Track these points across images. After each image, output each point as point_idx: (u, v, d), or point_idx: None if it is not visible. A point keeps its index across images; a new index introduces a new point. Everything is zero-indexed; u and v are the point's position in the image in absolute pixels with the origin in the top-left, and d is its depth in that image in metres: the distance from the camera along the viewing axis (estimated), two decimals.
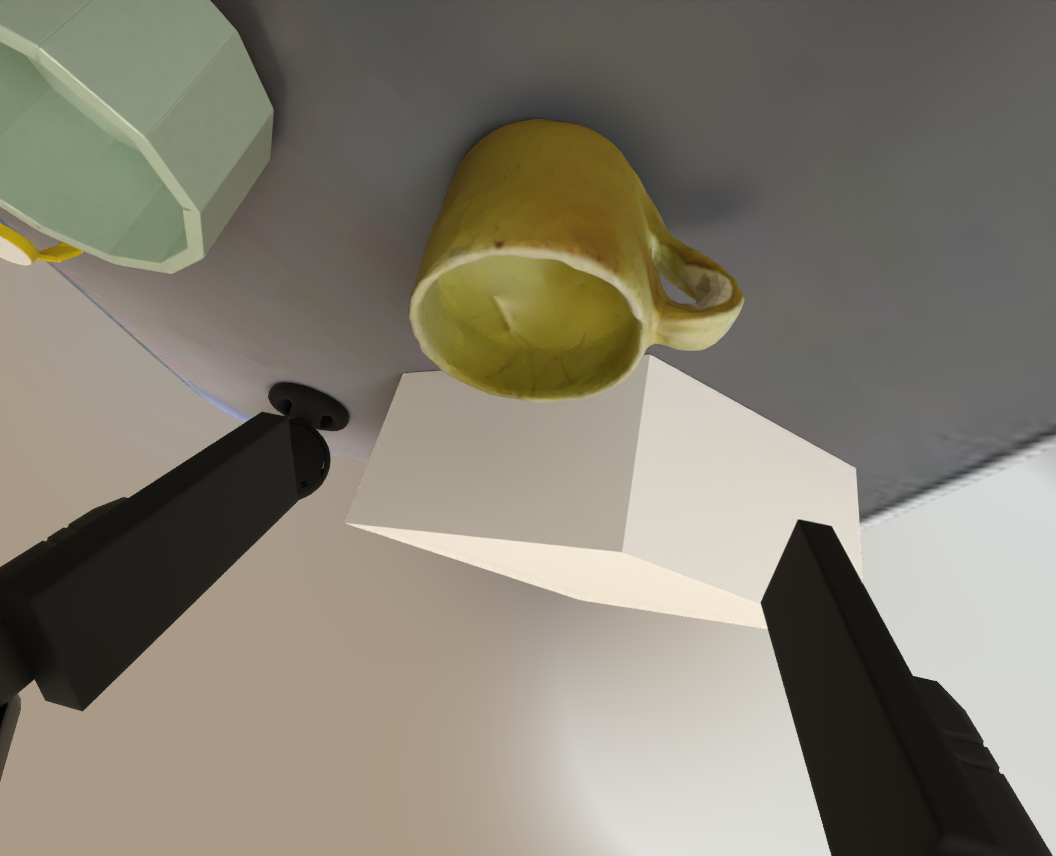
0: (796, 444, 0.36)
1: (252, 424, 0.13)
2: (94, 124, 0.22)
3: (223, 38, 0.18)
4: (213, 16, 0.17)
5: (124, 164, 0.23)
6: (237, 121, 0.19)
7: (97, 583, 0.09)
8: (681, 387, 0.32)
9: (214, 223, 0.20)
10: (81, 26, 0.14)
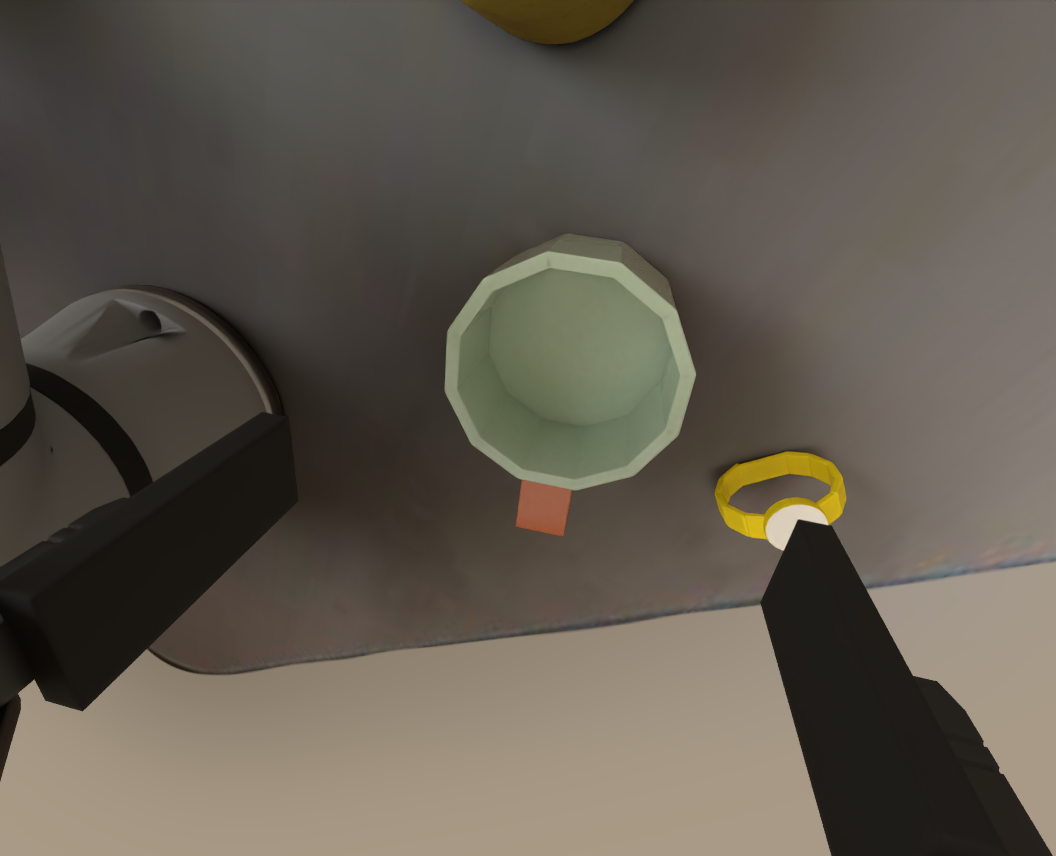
0: None
1: (252, 424, 0.13)
2: (649, 393, 0.26)
3: None
4: None
5: (665, 373, 0.25)
6: (542, 246, 0.23)
7: (97, 583, 0.09)
8: None
9: (591, 253, 0.20)
10: None
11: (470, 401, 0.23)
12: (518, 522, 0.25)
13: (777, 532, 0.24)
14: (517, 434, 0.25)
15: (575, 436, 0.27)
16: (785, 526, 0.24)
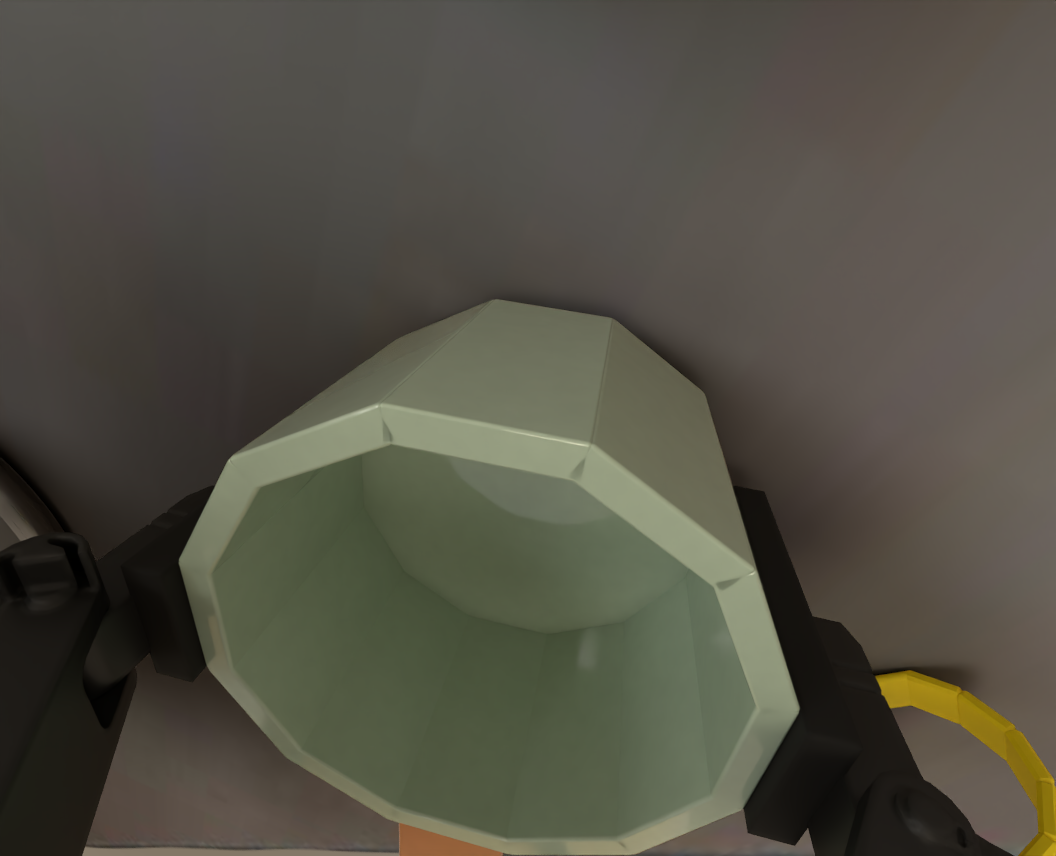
0: None
1: None
2: (664, 595, 0.14)
3: None
4: None
5: (698, 580, 0.12)
6: (429, 338, 0.10)
7: None
8: None
9: (515, 396, 0.07)
10: None
11: (280, 669, 0.11)
12: None
13: None
14: (405, 690, 0.13)
15: (525, 668, 0.14)
16: None
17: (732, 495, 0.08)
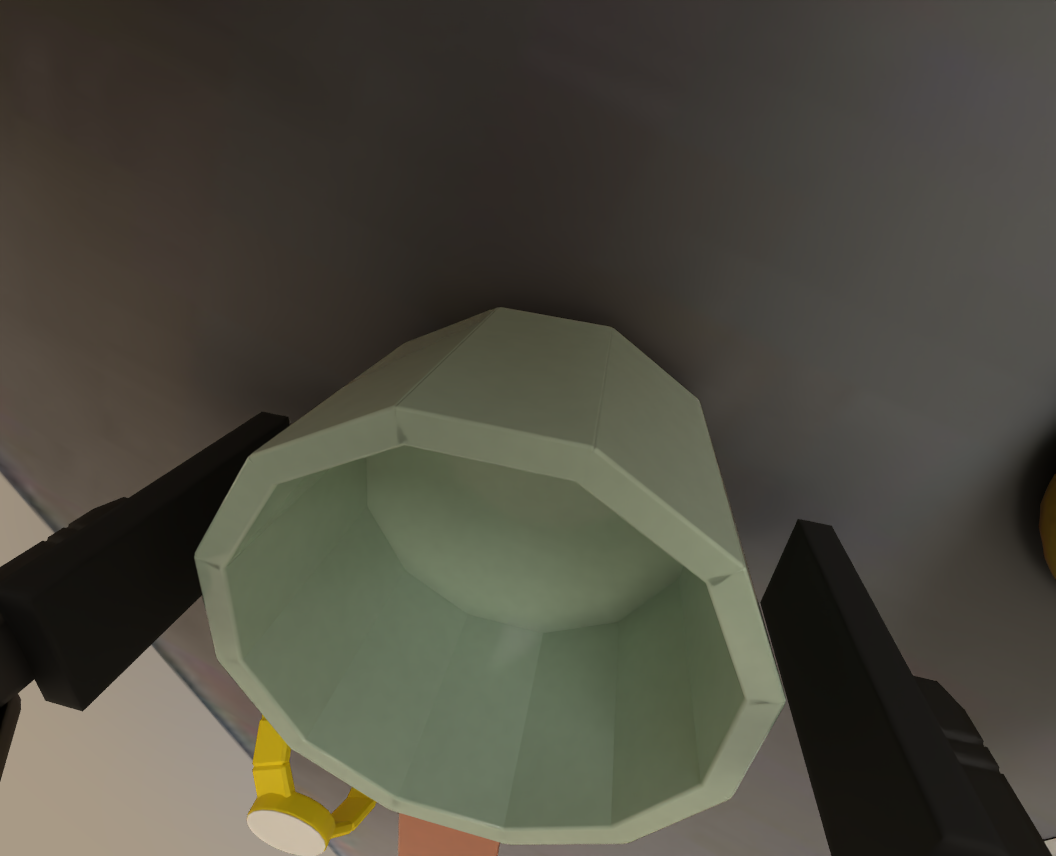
0: None
1: (252, 424, 0.13)
2: (658, 595, 0.14)
3: None
4: None
5: (691, 580, 0.13)
6: (436, 344, 0.11)
7: (97, 583, 0.09)
8: None
9: (521, 401, 0.08)
10: None
11: (286, 662, 0.11)
12: None
13: (271, 819, 0.16)
14: (406, 685, 0.13)
15: (522, 665, 0.15)
16: (284, 822, 0.16)
17: (724, 497, 0.08)
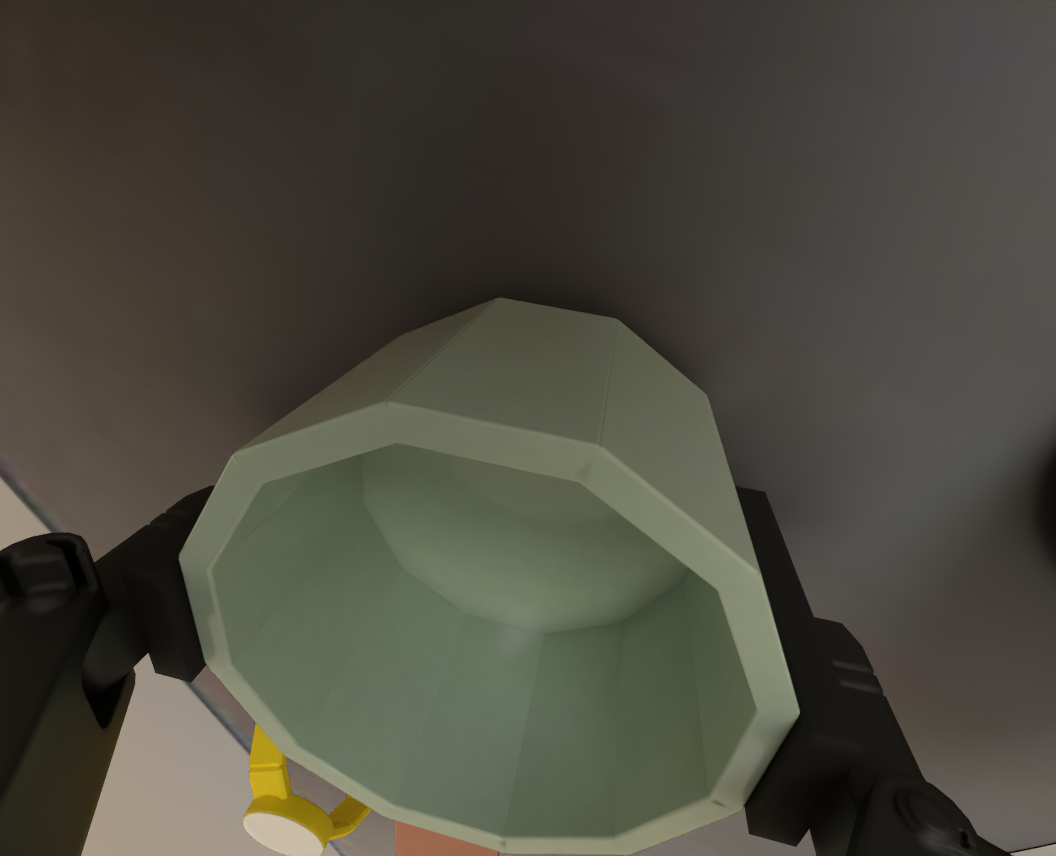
0: None
1: None
2: (662, 596, 0.14)
3: None
4: None
5: (697, 581, 0.12)
6: (433, 336, 0.10)
7: None
8: None
9: (522, 396, 0.07)
10: None
11: (278, 665, 0.11)
12: None
13: (268, 821, 0.16)
14: (403, 688, 0.13)
15: (523, 666, 0.14)
16: (281, 824, 0.16)
17: (736, 498, 0.08)
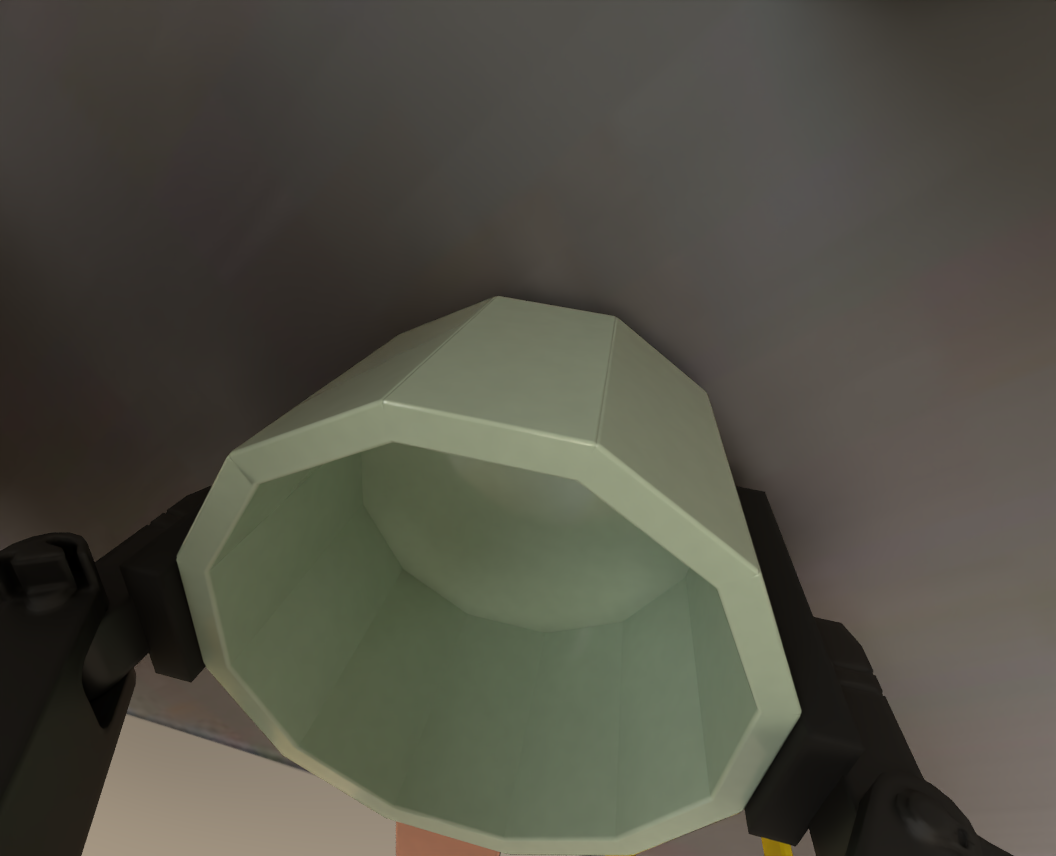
0: None
1: None
2: (663, 594, 0.14)
3: None
4: None
5: (698, 580, 0.12)
6: (430, 335, 0.10)
7: None
8: None
9: (519, 394, 0.07)
10: None
11: (278, 666, 0.11)
12: None
13: None
14: (403, 688, 0.13)
15: (524, 666, 0.14)
16: None
17: (736, 496, 0.08)
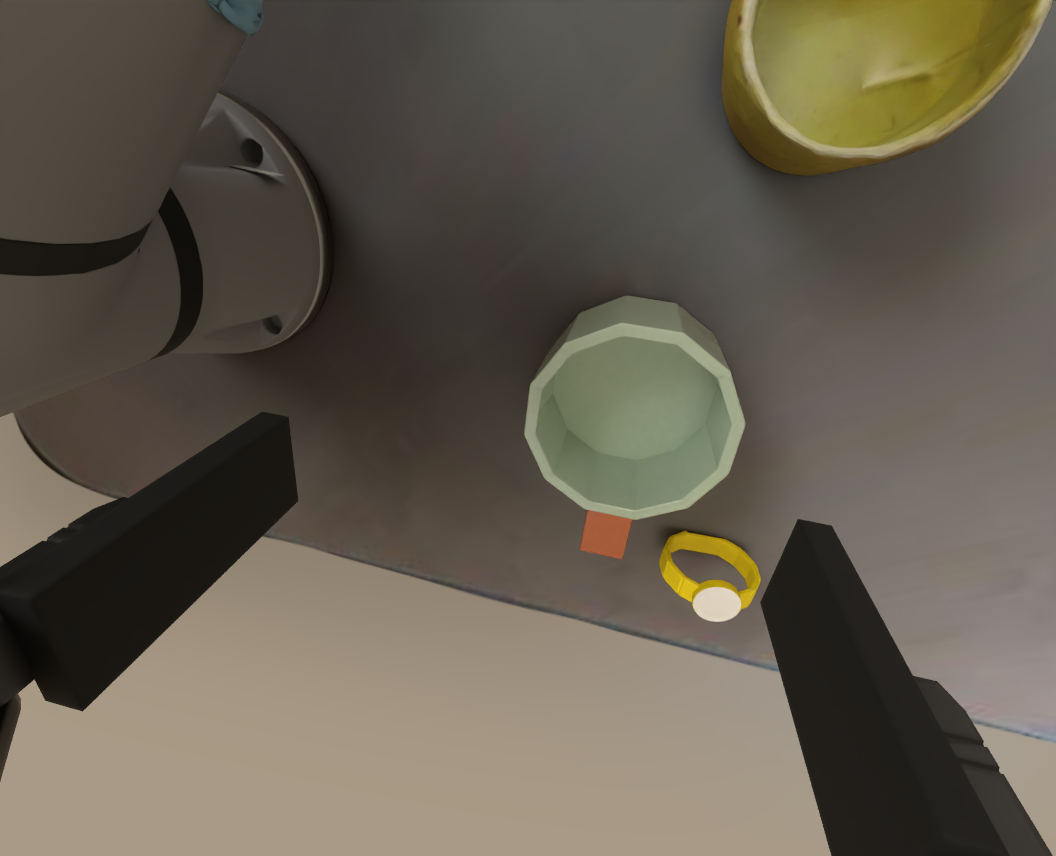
0: None
1: (252, 424, 0.13)
2: (695, 432, 0.30)
3: (575, 318, 0.28)
4: (570, 324, 0.29)
5: (711, 416, 0.28)
6: (608, 310, 0.26)
7: (97, 583, 0.09)
8: None
9: (656, 323, 0.23)
10: (538, 371, 0.26)
11: (544, 442, 0.27)
12: (582, 546, 0.29)
13: (702, 601, 0.30)
14: (581, 469, 0.29)
15: (629, 469, 0.30)
16: (710, 599, 0.30)
17: (724, 358, 0.24)
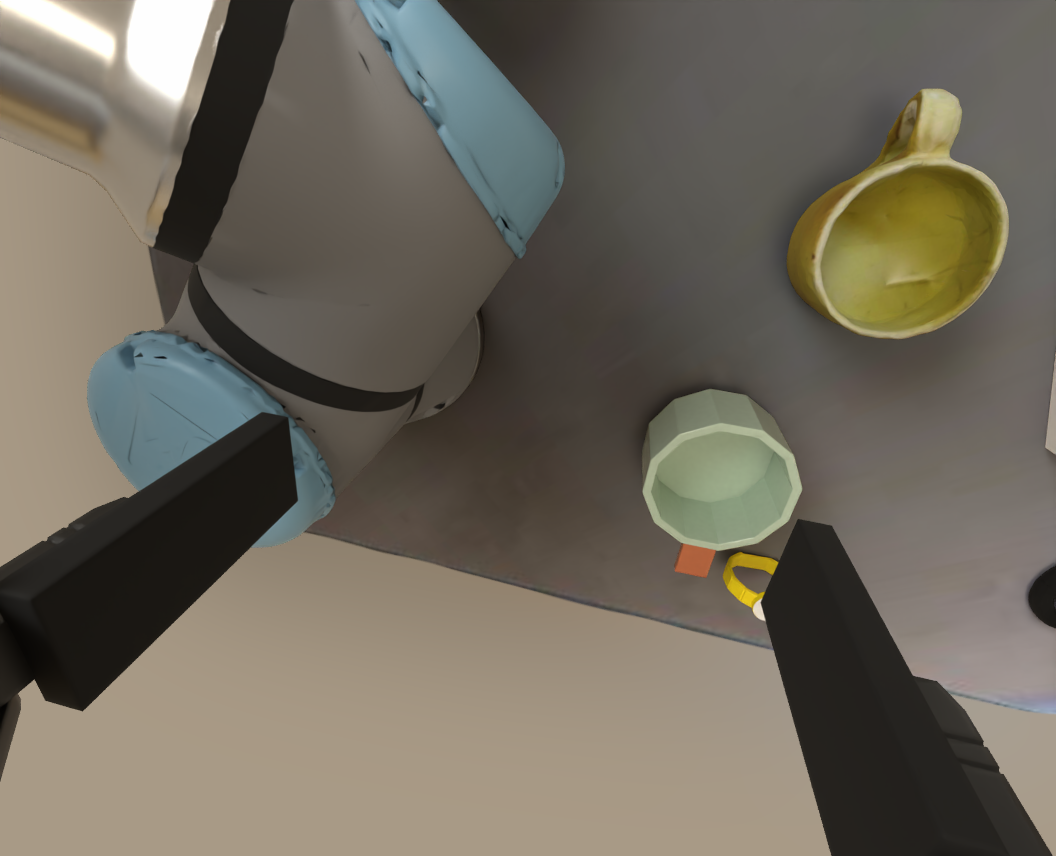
0: None
1: (252, 424, 0.13)
2: (756, 484, 0.41)
3: (672, 404, 0.39)
4: (667, 407, 0.40)
5: (770, 475, 0.39)
6: (701, 403, 0.37)
7: (97, 583, 0.09)
8: None
9: (742, 421, 0.34)
10: (652, 447, 0.37)
11: (654, 496, 0.38)
12: (677, 568, 0.40)
13: (760, 606, 0.42)
14: (675, 512, 0.40)
15: (707, 510, 0.41)
16: None
17: (786, 443, 0.35)
